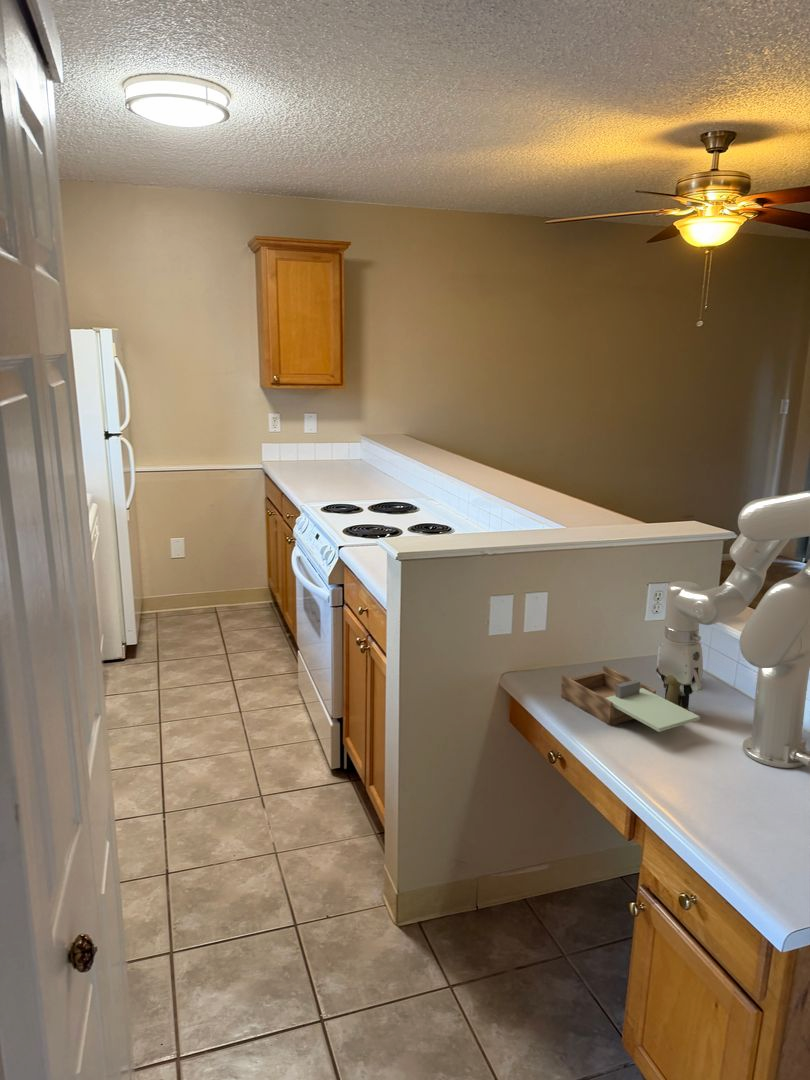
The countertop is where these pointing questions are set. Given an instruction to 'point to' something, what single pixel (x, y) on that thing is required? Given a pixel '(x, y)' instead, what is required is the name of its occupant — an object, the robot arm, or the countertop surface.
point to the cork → (674, 690)
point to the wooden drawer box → (597, 694)
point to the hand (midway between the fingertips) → (676, 705)
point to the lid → (649, 707)
